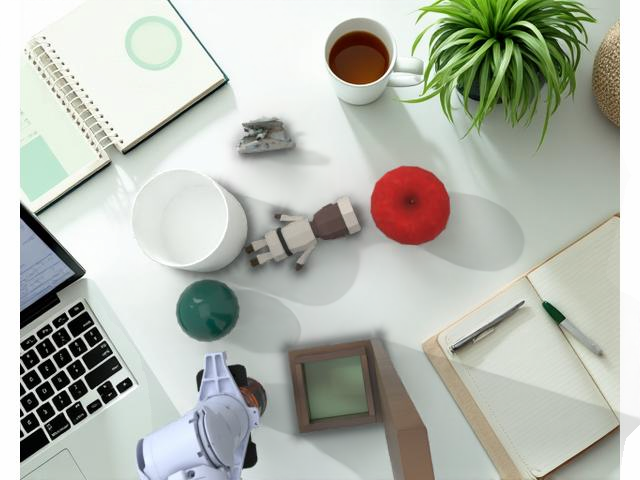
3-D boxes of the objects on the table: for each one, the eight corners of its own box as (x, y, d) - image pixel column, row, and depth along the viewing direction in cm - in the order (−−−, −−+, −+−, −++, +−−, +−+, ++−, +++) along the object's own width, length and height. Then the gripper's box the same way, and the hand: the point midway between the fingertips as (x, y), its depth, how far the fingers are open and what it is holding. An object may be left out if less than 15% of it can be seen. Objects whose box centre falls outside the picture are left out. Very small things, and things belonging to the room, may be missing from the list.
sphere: (188, 342, 82) (169, 347, 74) (183, 282, 83) (165, 281, 75) (247, 337, 82) (235, 341, 74) (242, 277, 83) (230, 274, 75)
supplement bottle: (214, 387, 79) (190, 403, 68) (256, 368, 79) (239, 380, 68) (233, 431, 79) (212, 454, 67) (275, 411, 78) (262, 431, 67)
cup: (180, 174, 84) (150, 154, 72) (259, 202, 83) (243, 185, 71) (150, 255, 84) (115, 248, 72) (230, 284, 83) (208, 281, 71)
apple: (454, 234, 81) (468, 224, 71) (386, 261, 82) (390, 255, 71) (425, 165, 82) (435, 145, 72) (358, 192, 83) (358, 176, 72)
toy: (263, 285, 83) (367, 243, 82) (256, 285, 78) (365, 240, 77) (241, 229, 84) (343, 187, 83) (233, 226, 79) (341, 181, 78)
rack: (391, 420, 80) (472, 712, 23) (299, 432, 80) (162, 747, 24) (379, 337, 81) (426, 427, 24) (288, 350, 81) (131, 467, 25)
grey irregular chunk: (297, 150, 84) (292, 136, 77) (239, 157, 84) (228, 145, 77) (294, 119, 84) (288, 103, 77) (236, 127, 85) (225, 112, 78)
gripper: (261, 502, 59) (279, 465, 73) (242, 351, 61) (263, 342, 74) (190, 512, 60) (221, 473, 73) (172, 361, 61) (206, 350, 75)
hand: (238, 407), depth 74 cm, fingers closed on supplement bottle, 6 cm apart
